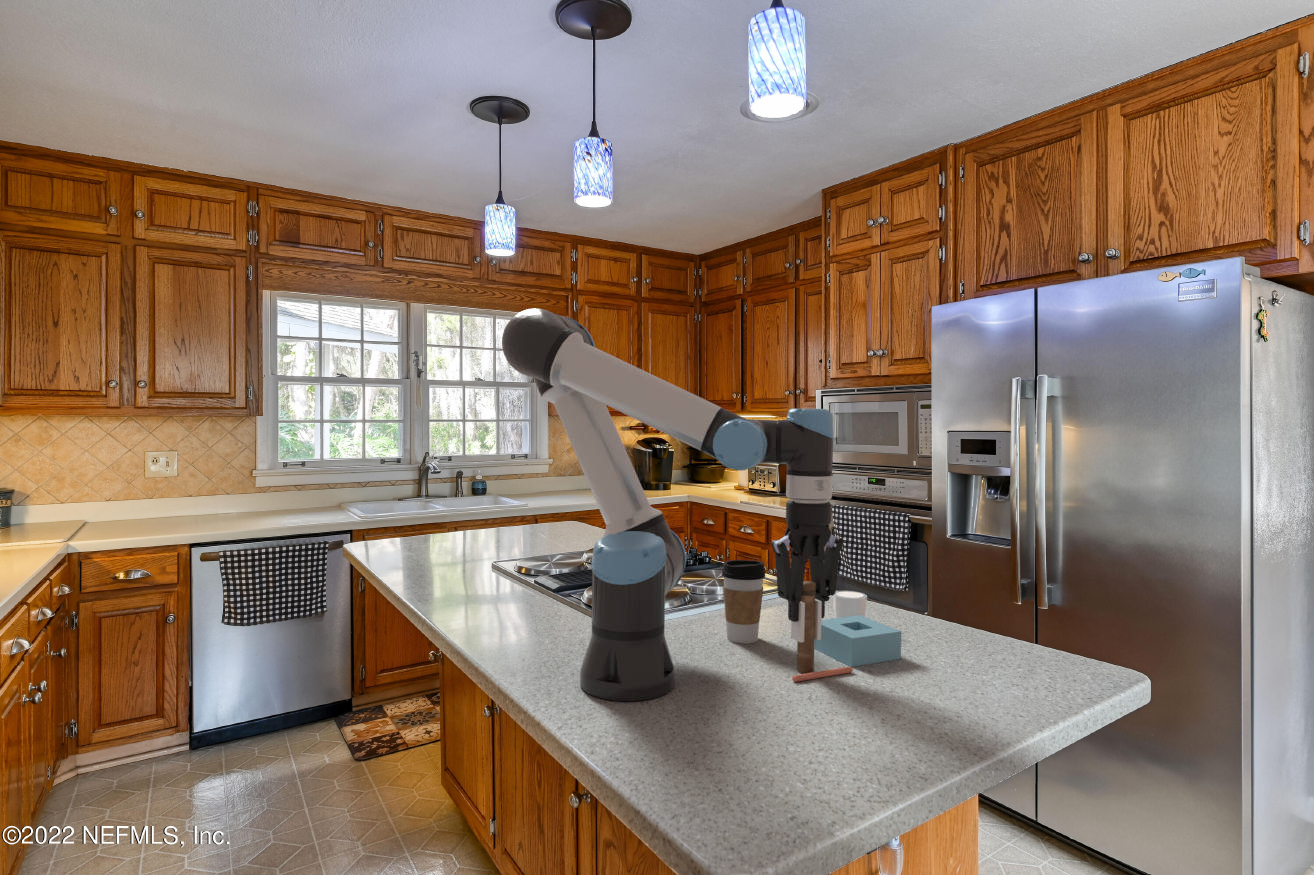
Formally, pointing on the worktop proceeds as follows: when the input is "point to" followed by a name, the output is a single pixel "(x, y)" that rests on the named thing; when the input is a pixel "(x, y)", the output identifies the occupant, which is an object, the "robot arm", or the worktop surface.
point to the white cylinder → (849, 604)
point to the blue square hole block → (858, 641)
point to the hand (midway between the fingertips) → (805, 638)
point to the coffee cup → (743, 599)
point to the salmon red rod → (822, 674)
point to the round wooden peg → (807, 630)
